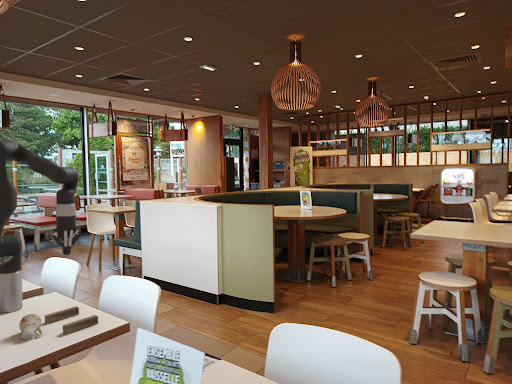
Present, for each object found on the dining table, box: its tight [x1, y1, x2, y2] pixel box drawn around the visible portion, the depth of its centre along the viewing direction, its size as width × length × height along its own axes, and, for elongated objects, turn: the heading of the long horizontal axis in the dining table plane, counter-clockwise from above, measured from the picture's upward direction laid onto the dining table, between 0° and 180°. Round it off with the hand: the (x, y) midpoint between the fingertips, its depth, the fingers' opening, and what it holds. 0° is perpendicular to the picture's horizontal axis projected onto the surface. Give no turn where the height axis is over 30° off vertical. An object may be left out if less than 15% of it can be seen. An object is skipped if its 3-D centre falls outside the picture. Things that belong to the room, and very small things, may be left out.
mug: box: [19, 313, 43, 340], centre depth 140 cm, size 8×10×10 cm
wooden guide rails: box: [44, 306, 99, 335], centre depth 150 cm, size 18×13×3 cm
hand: (66, 254), depth 156 cm, fingers closed
